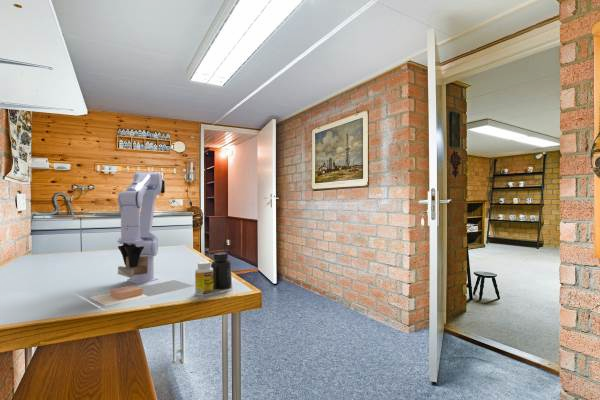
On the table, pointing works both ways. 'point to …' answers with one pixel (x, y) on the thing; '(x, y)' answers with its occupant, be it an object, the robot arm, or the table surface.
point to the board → (147, 291)
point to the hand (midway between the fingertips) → (131, 266)
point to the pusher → (137, 270)
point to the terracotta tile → (126, 292)
